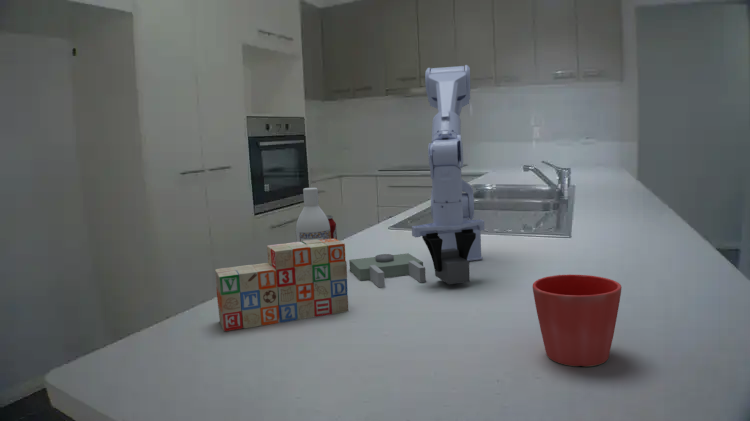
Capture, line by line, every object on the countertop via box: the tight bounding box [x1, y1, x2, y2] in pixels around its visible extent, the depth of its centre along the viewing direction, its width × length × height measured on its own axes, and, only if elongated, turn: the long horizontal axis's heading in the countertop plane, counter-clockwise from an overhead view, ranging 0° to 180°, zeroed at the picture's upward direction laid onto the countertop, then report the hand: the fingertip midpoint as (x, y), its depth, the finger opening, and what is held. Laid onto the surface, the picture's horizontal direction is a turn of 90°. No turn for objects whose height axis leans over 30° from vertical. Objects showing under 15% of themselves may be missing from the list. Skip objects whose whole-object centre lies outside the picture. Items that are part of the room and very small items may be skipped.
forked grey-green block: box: [348, 252, 427, 289], centre depth 121 cm, size 14×17×3 cm
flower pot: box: [532, 274, 622, 367], centre depth 73 cm, size 11×11×10 cm
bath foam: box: [295, 187, 331, 242], centre depth 115 cm, size 7×7×20 cm
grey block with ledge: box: [434, 248, 471, 285], centre depth 111 cm, size 4×7×5 cm, turn 15°
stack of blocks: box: [214, 238, 349, 332], centre depth 96 cm, size 21×6×12 cm, turn 111°
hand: (449, 269), depth 112 cm, fingers closed on grey block with ledge, 4 cm apart
